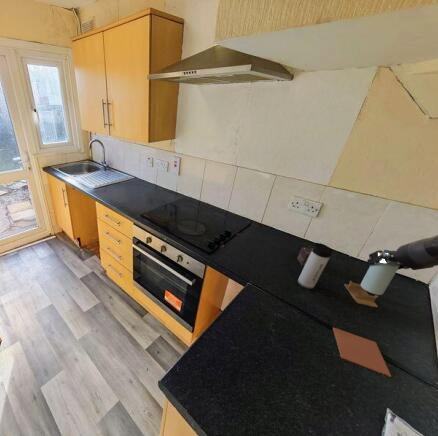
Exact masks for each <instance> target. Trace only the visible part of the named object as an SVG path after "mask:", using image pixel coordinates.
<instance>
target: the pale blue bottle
mask: <svg viewBox="0 0 438 436" xmlns="http://www.w3.org/2000/svg"><path fill="white" fill-rule="evenodd" d="M382 251H383V253H391V252H396V250H388V249H383V250H382ZM379 261H382V260H379ZM387 262H389V260H388V257H387ZM399 266H400V265H396V264H391V265H386V264H376V265H372V266H370V265H369V268H368V269H367V271H366V273H365V275H364V277H363V279H362V280H361V282H360V284H361V287H362V288H363V289H365V291H366V292H367V293H370V294H374V295H377V296H381V295H384V293H385V291H386V290H387V288H388V286H389V285H390V283H391V281H392V280H393V279H394V276H395V275H396V273H397V272H398V268H399Z"/></svg>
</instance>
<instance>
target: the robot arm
mask: <svg viewBox="0 0 438 436" xmlns="http://www.w3.org/2000/svg"><path fill="white" fill-rule="evenodd" d="M383 251H384V250H381V249H380V250H375V251H374V252H371V253H370V254H368V259H367V263H366V264H367V265H368V266H369V267H370V266H372V265H376V264H386V265H391V264H396V265H400V266H399V268H398V270H402V269H403V270H409V269H411V270H412V271H419V270H426V269H431V268H434V267H437V266H438V234H437V235H434V236H430V237H426V238H425V237H424V238H422V239H419V240H415V241H411V242H408V243H406V244H402V245H400V246H399V247H398V248H397V249H396V250H395V251H396V252H391V253H383ZM387 257H388V260H389V262H387ZM379 260H382V261H379ZM398 270H397V271H398Z"/></svg>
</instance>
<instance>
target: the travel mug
mask: <svg viewBox="0 0 438 436" xmlns="http://www.w3.org/2000/svg"><path fill="white" fill-rule="evenodd" d="M312 249H313V250H312V252H311V254H310V256H309V258H308V260H307V262H306V264H305V266H303V268H302V271H301V273H300V274H299V277H298V279H297V282H298V284H299V285H300V286H301V287H303V288H306V289H310V290H311V289H314V288H315V286H316V285H317V283H318V281H319V279H320V277H321V275H322V274H323V271H324V269H325V268H326V267H327V266H326V265H327V264H328V262H329V260H330V258H331V255H332V254H333V250H332V248H331V247H329V246H328V245H326V244H324V243H321V242H314V243H313V248H312Z"/></svg>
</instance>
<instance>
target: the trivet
mask: <svg viewBox="0 0 438 436" xmlns="http://www.w3.org/2000/svg"><path fill="white" fill-rule="evenodd" d="M332 332H333V334H334V338H335V342H336V345H337V348H338V352H339V355H340V358H341V359H342V360H345V361H348V362H351V363H353V364H355V365H358V366H361V367H363V368H365V369H369V370H371V371H373V372H377V373H379V374H381V373H382V374H381V375H384V374H385V375H384V376H386V375H387V376H386V377H388V378H391V377H392V375H391V372H390V370H389V368H388V366H387V363H386V361H385V359H384V357H383V354H382V353H381V351H380V348H379V346H378V344H377V342H376V341H373V340H371V339H367V338H365V337H362V336H360V335H356V334H353V333H350V332H347V331H345V330H342V329H339V328H336V327H334V326H333V327H332Z"/></svg>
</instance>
